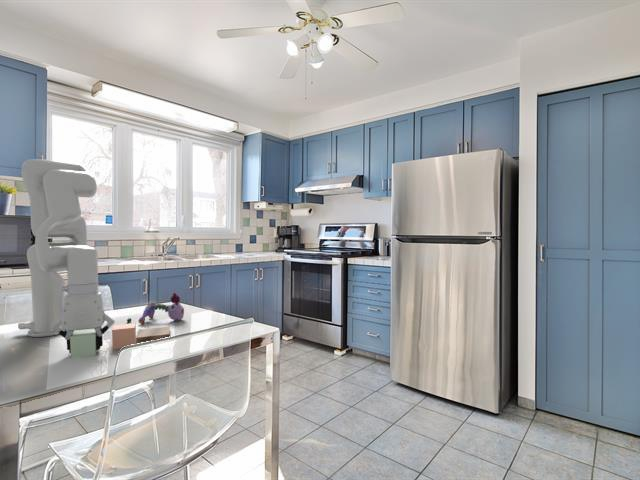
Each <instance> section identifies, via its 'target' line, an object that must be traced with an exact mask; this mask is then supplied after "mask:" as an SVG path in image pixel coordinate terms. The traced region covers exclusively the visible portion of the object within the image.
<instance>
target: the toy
mask: <svg viewBox="0 0 640 480" xmlns="http://www.w3.org/2000/svg"><path fill="white" fill-rule="evenodd" d="M180 300H181V298H180V296H179V295H178V294H177V293H175V292H173V294H172V296H171V297H170V301H171V303H172V304H168V305H167V304H164V303H163V304H162V303H154V302H151V303H149V304H147V305H146V306H145V308H144V310H143V313H142V316H141V317H139V319H138V323H139V325H140V324H141V325H144V324H145V321H146V318H147V317H148V318H149V319H154V316H155V312H156V311H157V310H160V311H161V310H162V311H164V312H165V313H167V315H168V317H169V318H170V319H171V320H173V321H174V322H179V321H181V320H183V319H184V314H185V308H184V307H183V305H182V304H181V303H180V302H181V301H180Z"/></svg>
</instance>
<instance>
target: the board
mask: <svg viewBox="0 0 640 480" xmlns="http://www.w3.org/2000/svg"><path fill="white" fill-rule="evenodd" d="M169 336H170V337H171V327H170V326H162V327H161V326H160V327H152V328H151V327H150V328H141V329H138V330H137V332H136V343H143V342H150V340H152V341H157V340H156V339H160V338H165V337H169Z"/></svg>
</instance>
